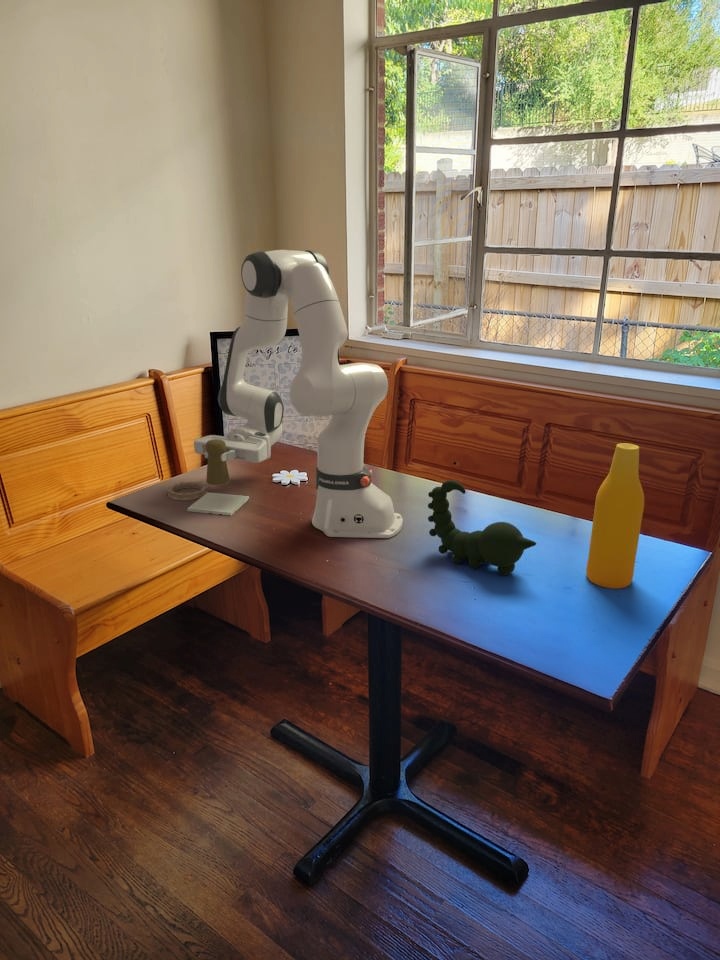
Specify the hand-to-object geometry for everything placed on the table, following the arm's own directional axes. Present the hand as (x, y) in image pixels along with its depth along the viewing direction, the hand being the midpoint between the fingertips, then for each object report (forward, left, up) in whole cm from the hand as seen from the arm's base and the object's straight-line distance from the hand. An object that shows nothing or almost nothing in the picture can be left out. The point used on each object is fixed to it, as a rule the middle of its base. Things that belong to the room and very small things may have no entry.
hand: (213, 457), depth 176 cm
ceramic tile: (0, -1, -13) cm, 14 cm away
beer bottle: (-96, +17, -14) cm, 99 cm away
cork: (0, -1, -7) cm, 7 cm away
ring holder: (+12, -7, -13) cm, 19 cm away
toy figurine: (-69, +17, -14) cm, 73 cm away
